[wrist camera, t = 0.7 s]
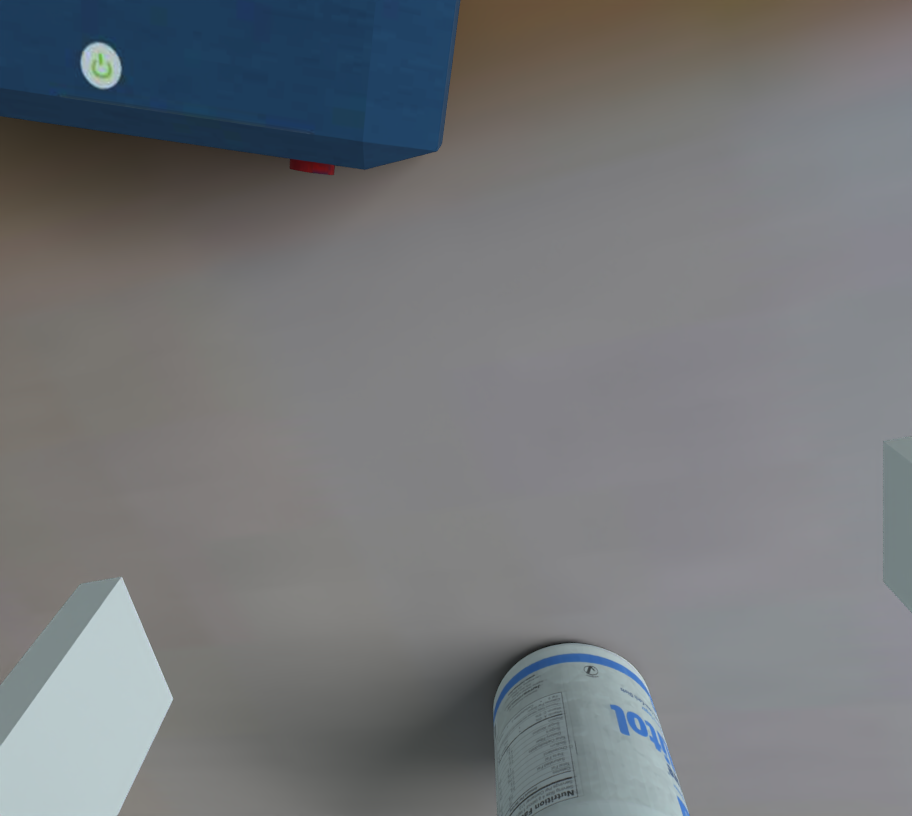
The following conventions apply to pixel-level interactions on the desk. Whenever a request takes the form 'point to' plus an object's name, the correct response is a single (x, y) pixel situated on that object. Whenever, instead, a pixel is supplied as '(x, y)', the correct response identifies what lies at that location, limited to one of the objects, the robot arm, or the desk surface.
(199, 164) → the desk surface
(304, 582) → the desk surface
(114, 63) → the radio
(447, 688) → the desk surface
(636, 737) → the supplement tub
